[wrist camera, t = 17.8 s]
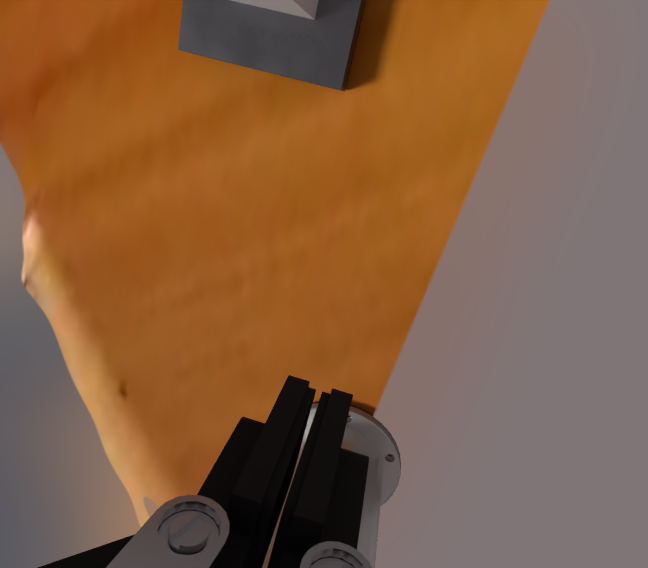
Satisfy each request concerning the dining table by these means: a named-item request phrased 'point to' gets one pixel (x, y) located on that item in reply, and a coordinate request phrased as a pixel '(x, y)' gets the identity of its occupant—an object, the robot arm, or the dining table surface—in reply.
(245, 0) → the knob
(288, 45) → the plate
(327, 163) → the dining table surface
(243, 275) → the dining table surface
